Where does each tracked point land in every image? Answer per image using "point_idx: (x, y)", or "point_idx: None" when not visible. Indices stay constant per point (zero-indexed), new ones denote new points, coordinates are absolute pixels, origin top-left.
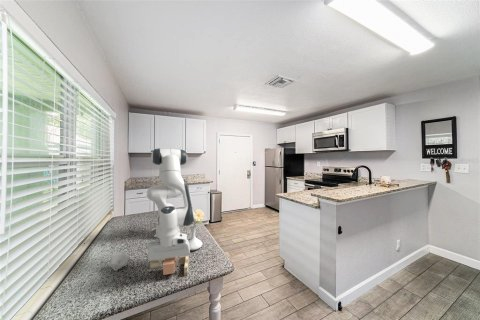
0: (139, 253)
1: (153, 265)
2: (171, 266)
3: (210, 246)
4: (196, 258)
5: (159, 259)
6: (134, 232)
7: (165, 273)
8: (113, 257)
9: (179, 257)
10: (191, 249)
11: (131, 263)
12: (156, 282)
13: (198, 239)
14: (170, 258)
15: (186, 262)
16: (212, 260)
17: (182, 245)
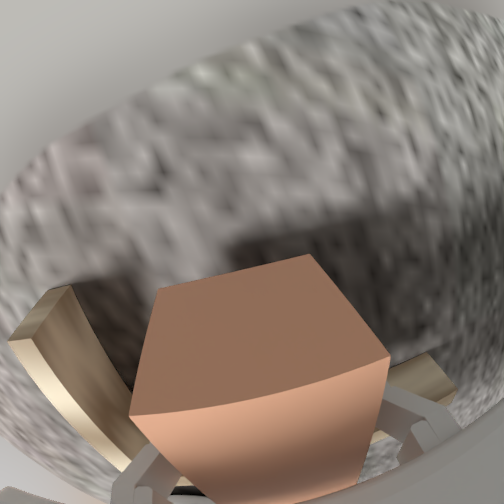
0: (457, 420)
1: (419, 377)
2: (183, 359)
3: (101, 494)
4: None
5: (462, 431)
6: None
7: (283, 269)
8: None
9: (113, 497)
10: (181, 501)
11: (491, 363)
12: (353, 192)
13: None
14: (278, 484)
15: (82, 424)
16: (6, 413)
17: None
